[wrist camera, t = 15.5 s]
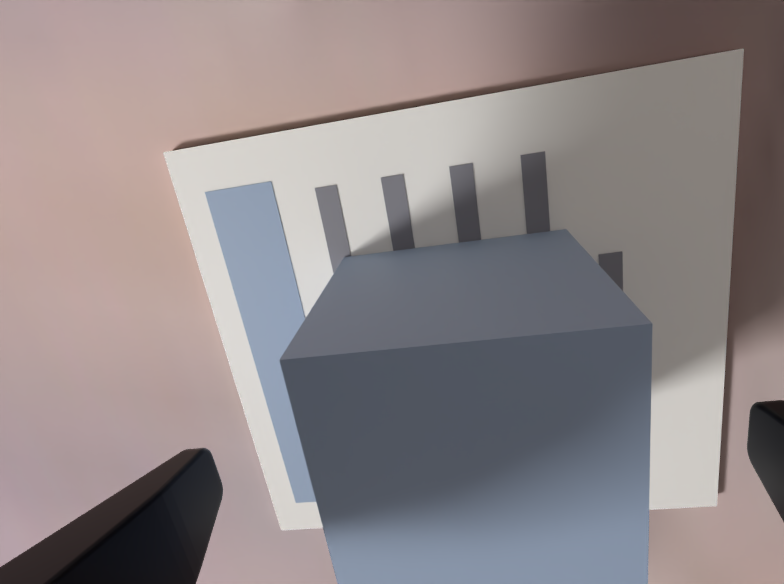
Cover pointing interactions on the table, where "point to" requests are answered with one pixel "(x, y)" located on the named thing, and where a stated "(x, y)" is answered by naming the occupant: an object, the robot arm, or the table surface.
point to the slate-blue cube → (477, 416)
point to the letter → (487, 232)
